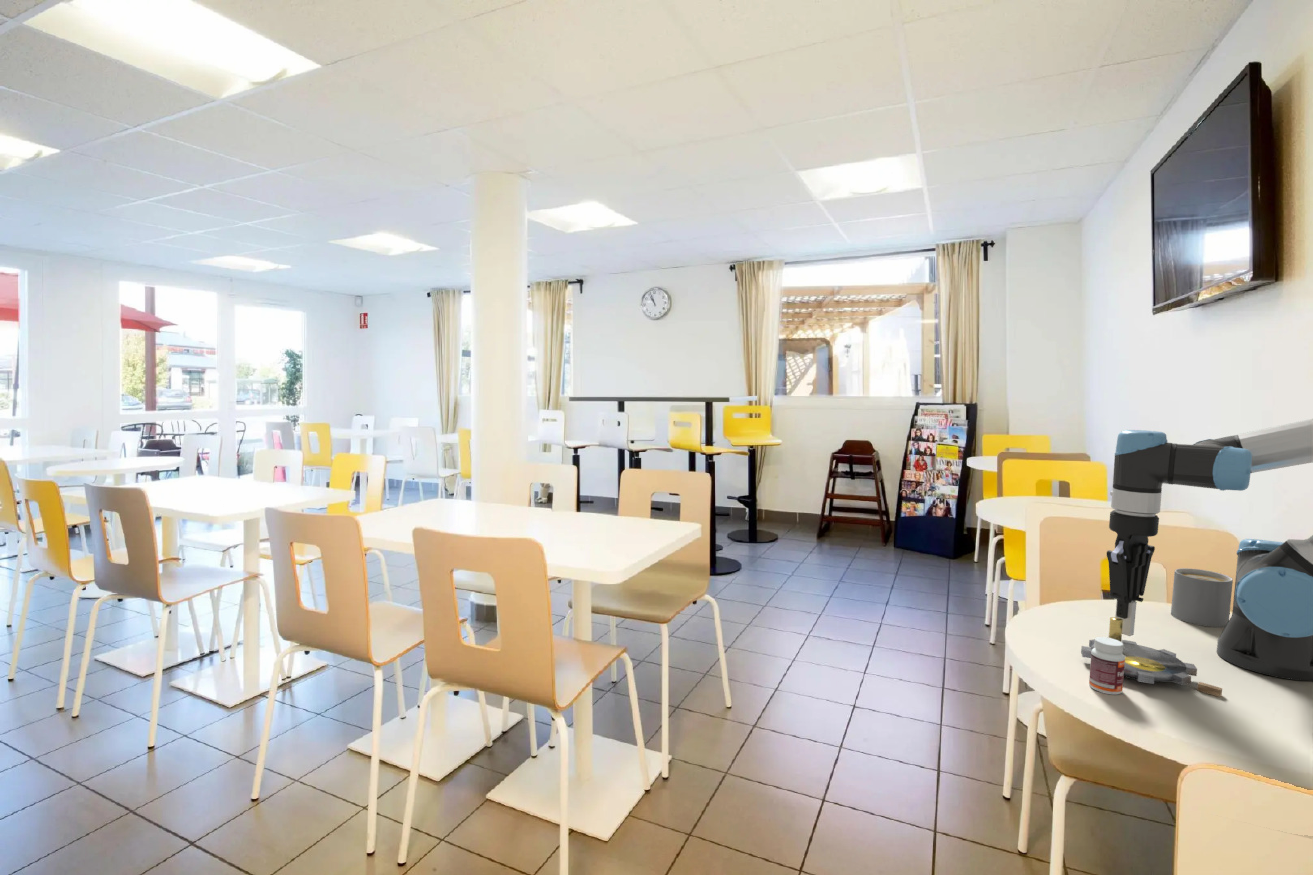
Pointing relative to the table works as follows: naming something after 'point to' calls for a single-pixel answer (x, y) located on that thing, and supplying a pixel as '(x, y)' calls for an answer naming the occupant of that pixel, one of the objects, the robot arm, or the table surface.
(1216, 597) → the coffee mug
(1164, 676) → the disc
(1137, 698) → the table surface
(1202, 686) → the pointer
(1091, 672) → the pill bottle
